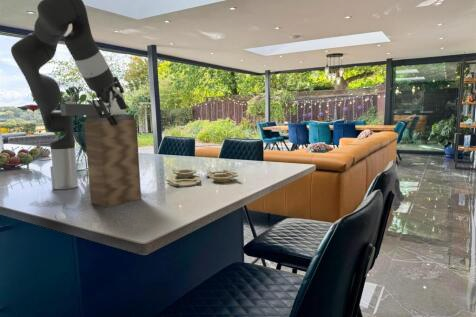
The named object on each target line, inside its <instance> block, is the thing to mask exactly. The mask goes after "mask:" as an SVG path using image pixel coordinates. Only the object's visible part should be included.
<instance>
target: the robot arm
mask: <svg viewBox="0 0 476 317" xmlns="http://www.w3.org/2000/svg"><path fill="white" fill-rule="evenodd" d="M36 7H37V13H38V14H37V15H38V17H37V19H36V20H35V23H34V25H33V26H34V27H33V29H34V31H33V32H31V33H29V34H27V35H25V36H24V37H22V38H21V39H19V40H18V41H16V42H15V43H14V44H13V45H12V46H11V48H10V53H11V55H12V57H13V60H14V62H15V63H16V65H17V66H18V68H19V69H20V71H21V73H22V75H23V76H24V79H25V80H26V83H27V84H28V87H29V89H30V92H31V95H32V97H33V99H34V102H35V103H36V105H37V107H38V110H39V112H40V115H41V118H42V121H43V122H42V123H43V125H44V128H45V130H46V131H47V132H48V133H64V135H63V136H62V137H61V138H58V139H55V140H54V141H53V140H52V141H51V142H50V155H51V164H52V165H51V166H50V177H51V178H50V179H51V180H50V181H51V188H52V189H55V190H69V189H74V188H75V189H76V188H77V187H79V183H78V182H79V181H78V170H77V169H78V168H77V158H76V148H75V147H76V146H75V137H74V135H75V134H74V133H75V132H74V115H68V116H61V110H56V109H57V108H58V107H59V106H60V103H61V102H62V99H63V98H62V96H63V95H62V92H61V88H60V86H59V83H58V82H57V81H56V80H55V79H54V78H53V77H51V76H49V75H46V74H43V73H40V70H41V68H42V67H44V66H45V65H46V64H48V62H50V61H51V60H52V59H53V58H54V57H55V54H56V52H57V47H58V45H59V42H60V41H61V39H62V38H63V37H64V36H65V34H66V33H67V32H68V29H69V27H70V26H69V25H71V26H72V27H71V31H70V32H69V33H68V34H66V36H65V38H64V44H65V46H66V48H67V50H68V52H69V54H70V55H71V58H73V60H74V63H75V65H76V67H77V70H78V71H79V73H80V74H81V77H82V78H83V80H84V82H85V83H86V85H87V87H88V88H89V89H90V90H91V91H92V92H95V95H96V97H97V98H96V99H94V98H93V99H92V100H91V104H93V105H94V107H95V109H96V111H97V112H98V114H99V116H100V118H107V120H108V121H109V123H110V125H112V126H115V125H118V121H117V120H116V118H115V116H114V114H113V112H112V107H113V100H114V98H115V99H116V102H117V104H118V106H119V108H120V109H121V110H123V109H125V110H127V109H128V106H127V104H126V101H125V98H124V99H123V97H124V95H123V94H124V93H125V90H124V88H123V86H122V84H121V82H120V81H119V79H118V77H117V76H116V75H115V76H114V75H113V73H112V70H111V68H110V66H109V65H108V63H107V61H106V58H105V57H104V55H103V54H102V53H101V51H100V48H99V46H98V44H97V43H96V41H95V39H94V37H93V33H92V30H91V26H90V21H89V16H88V12H87V8H86V5H85V3H84V1H83V0H41V1H40V2H39V3H38V5H37V6H36ZM104 103H109V104H108V105H104ZM106 108H108V109H109V112H108V111H107V109H106ZM101 111H103V114H102V112H101Z"/></svg>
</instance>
